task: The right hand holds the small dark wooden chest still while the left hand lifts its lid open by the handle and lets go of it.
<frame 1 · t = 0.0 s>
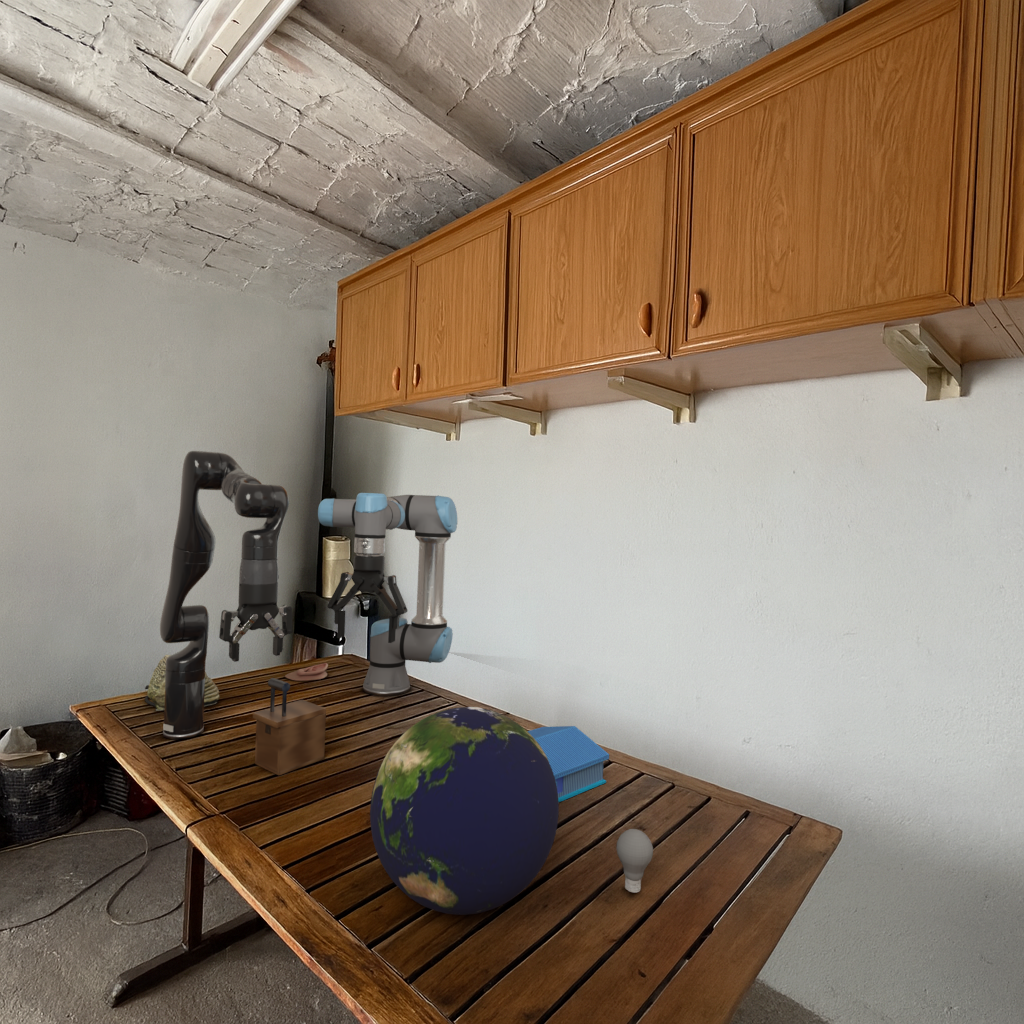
left hand: (256, 657, 132), 29 cm above the table, tool pointing down, fingers open, 8 cm apart
right hand: (366, 639, 158), 28 cm above the table, tool pointing down, fingers open, 13 cm apart
chest: (290, 761, 151), on the table
model building: (518, 792, 140), on the table
anatomical model: (306, 676, 220), on the table
fossil: (183, 706, 185), on the table
lid: (290, 696, 150), point 16 cm above the table, hinge at 0.0°
globe: (461, 898, 102), on the table
light bulb: (632, 891, 106), on the table
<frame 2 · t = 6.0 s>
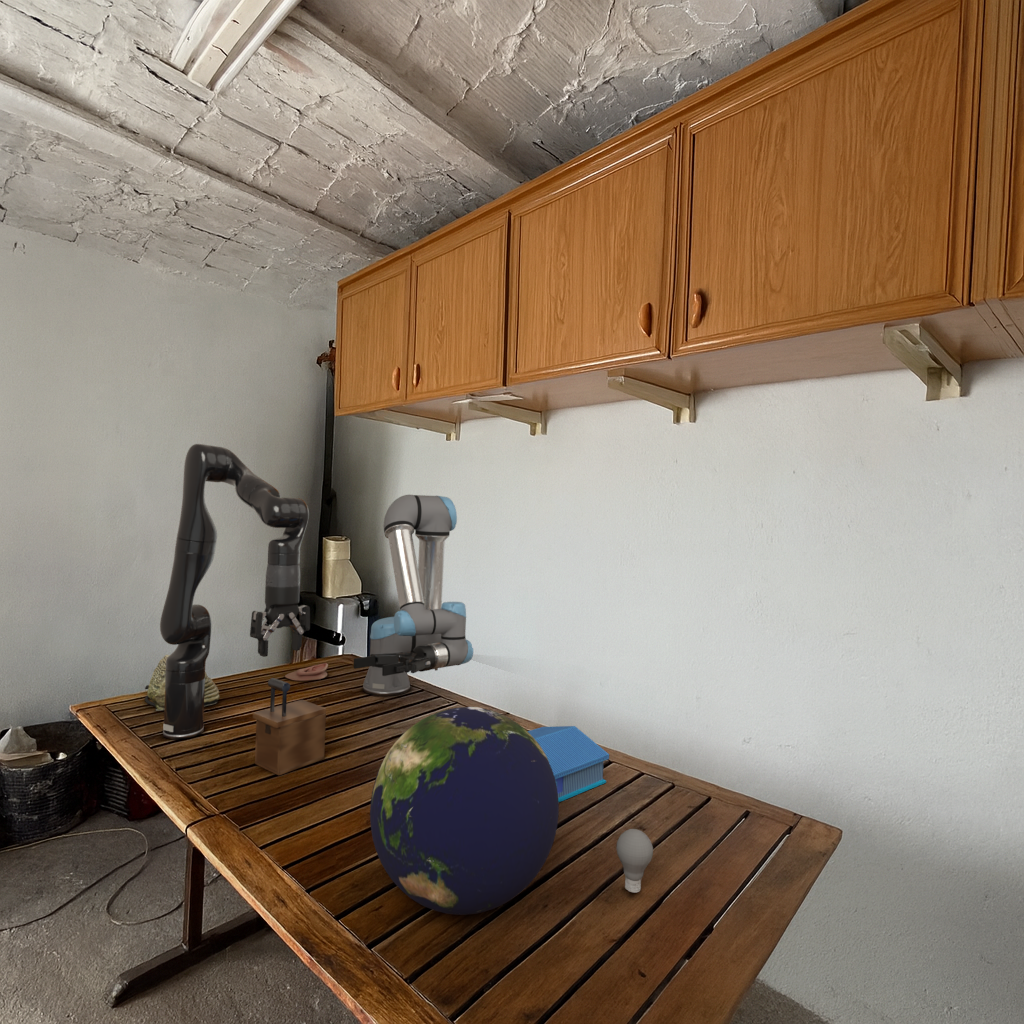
left hand: (280, 652, 147), 27 cm above the table, tool pointing down, fingers open, 8 cm apart
right hand: (368, 667, 173), 17 cm above the table, tool horizontal, fingers open, 13 cm apart
nothing on the table moved.
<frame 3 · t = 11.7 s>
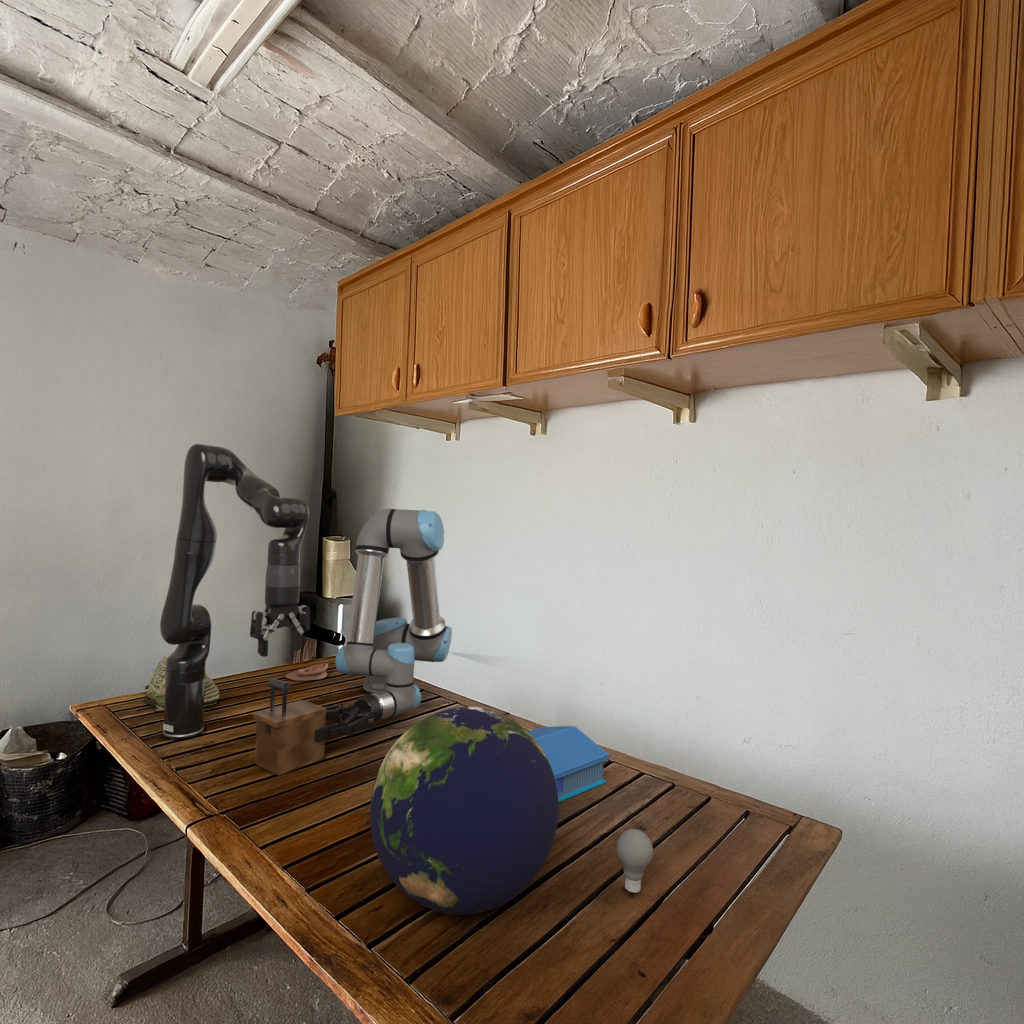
left hand: (280, 652, 147), 27 cm above the table, tool pointing down, fingers open, 8 cm apart
right hand: (302, 730, 153), 7 cm above the table, tool horizontal, fingers closed on chest, 9 cm apart
chest: (290, 761, 151), on the table, touching right hand
everything else where it was.
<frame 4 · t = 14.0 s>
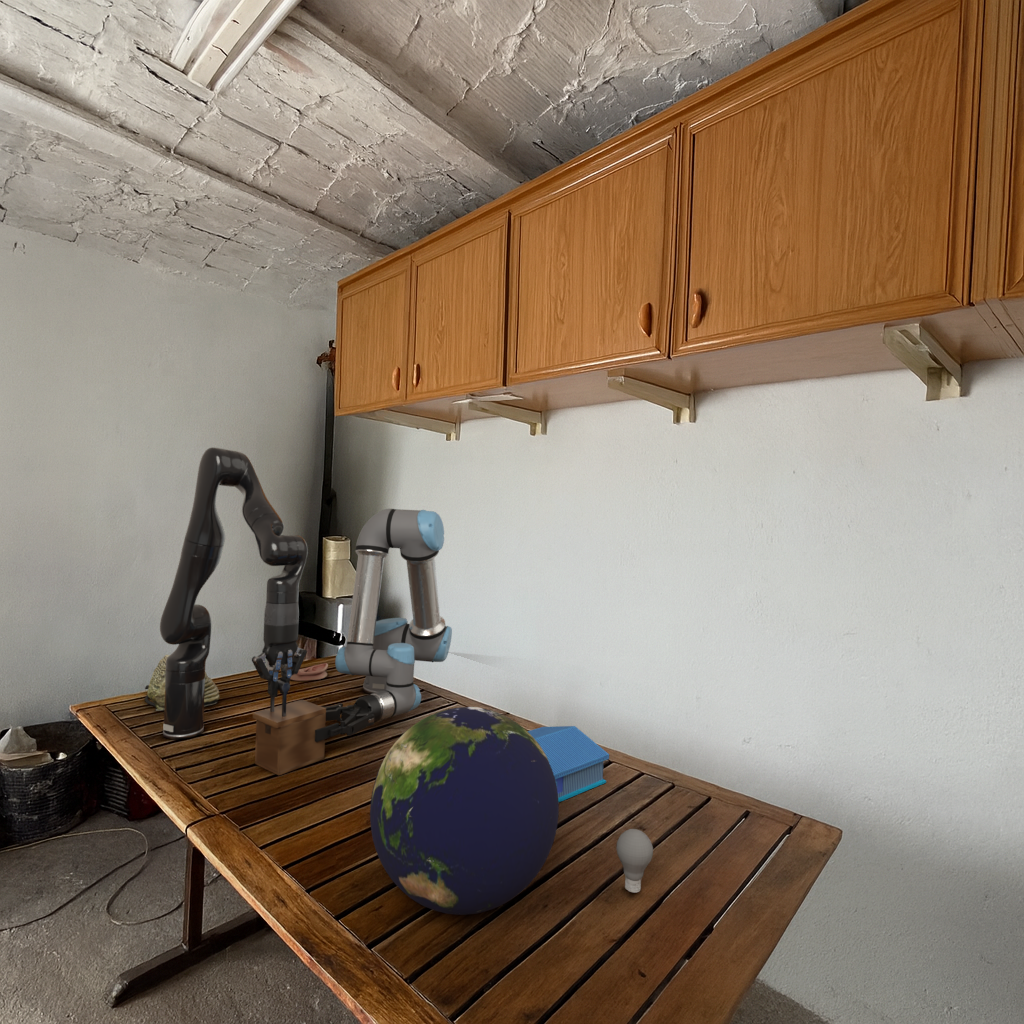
left hand: (278, 694, 147), 17 cm above the table, tool pointing down, fingers closed on lid, 2 cm apart
right hand: (302, 730, 153), 6 cm above the table, tool horizontal, fingers closed on chest, 9 cm apart
chest: (290, 761, 151), on the table, touching right hand
lid: (290, 696, 150), point 16 cm above the table, hinge at -0.1°, touching left hand
everything else where it was.
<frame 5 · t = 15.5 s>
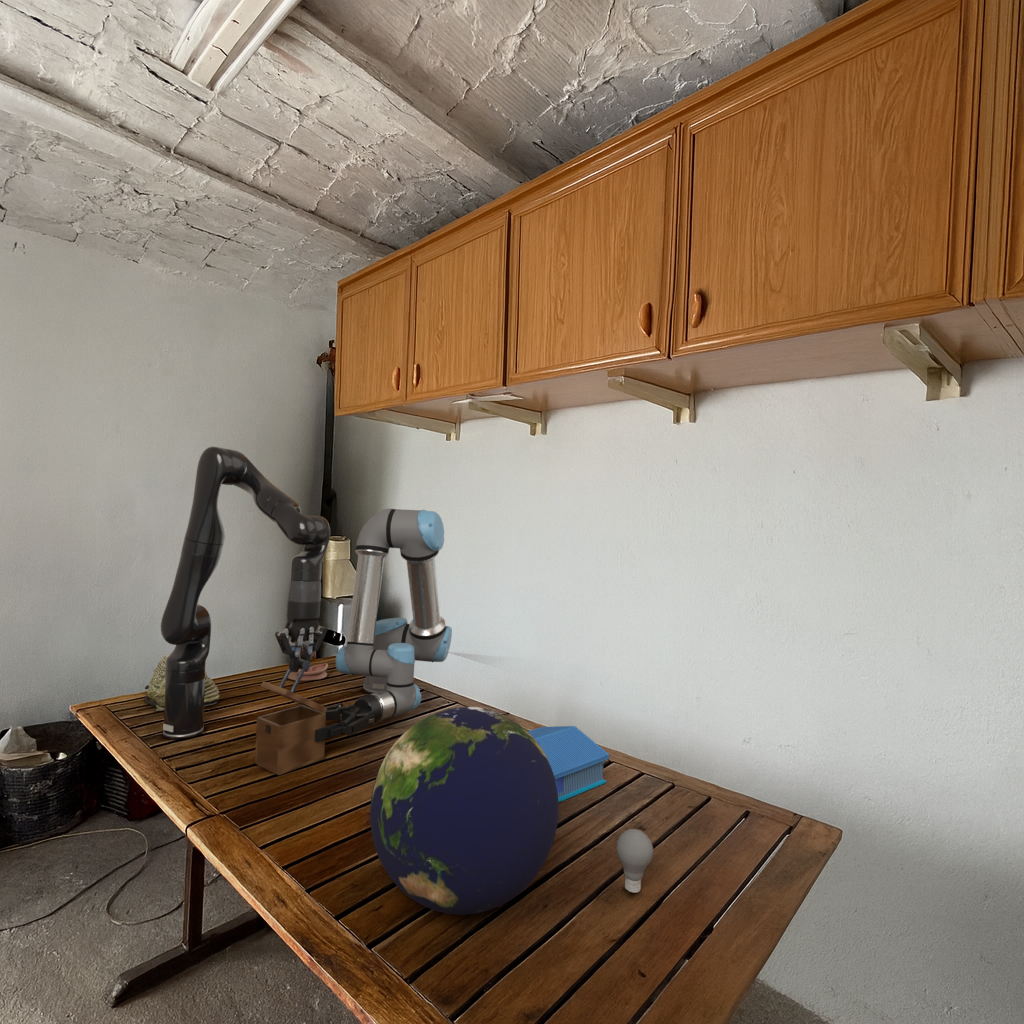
left hand: (299, 670, 152), 21 cm above the table, tool pointing down, fingers closed on lid, 2 cm apart
right hand: (302, 730, 153), 6 cm above the table, tool horizontal, fingers closed on chest, 9 cm apart
chest: (290, 761, 151), on the table, touching right hand
lid: (302, 681, 152), point 19 cm above the table, hinge at 31.4°, touching left hand
everything else where it was.
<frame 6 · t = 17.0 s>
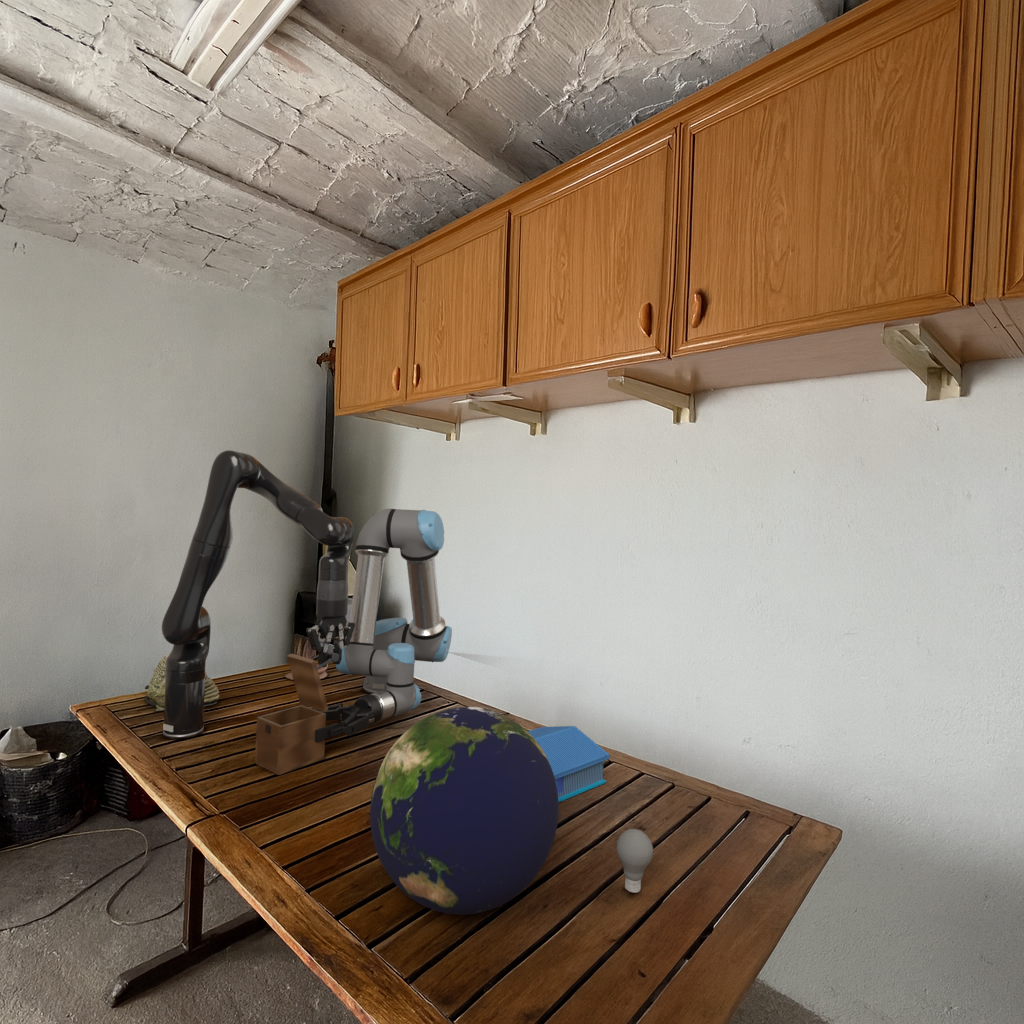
left hand: (329, 664, 159), 21 cm above the table, tool pointing down, fingers open, 3 cm apart
right hand: (302, 730, 153), 6 cm above the table, tool horizontal, fingers closed on chest, 9 cm apart
chest: (290, 761, 151), on the table, touching right hand
lid: (320, 674, 157), point 19 cm above the table, hinge at 70.8°
everything else where it was.
when the right hand's fingers open (6 cm above the table, at t = 21.1 s): chest stays where it is, on the table.
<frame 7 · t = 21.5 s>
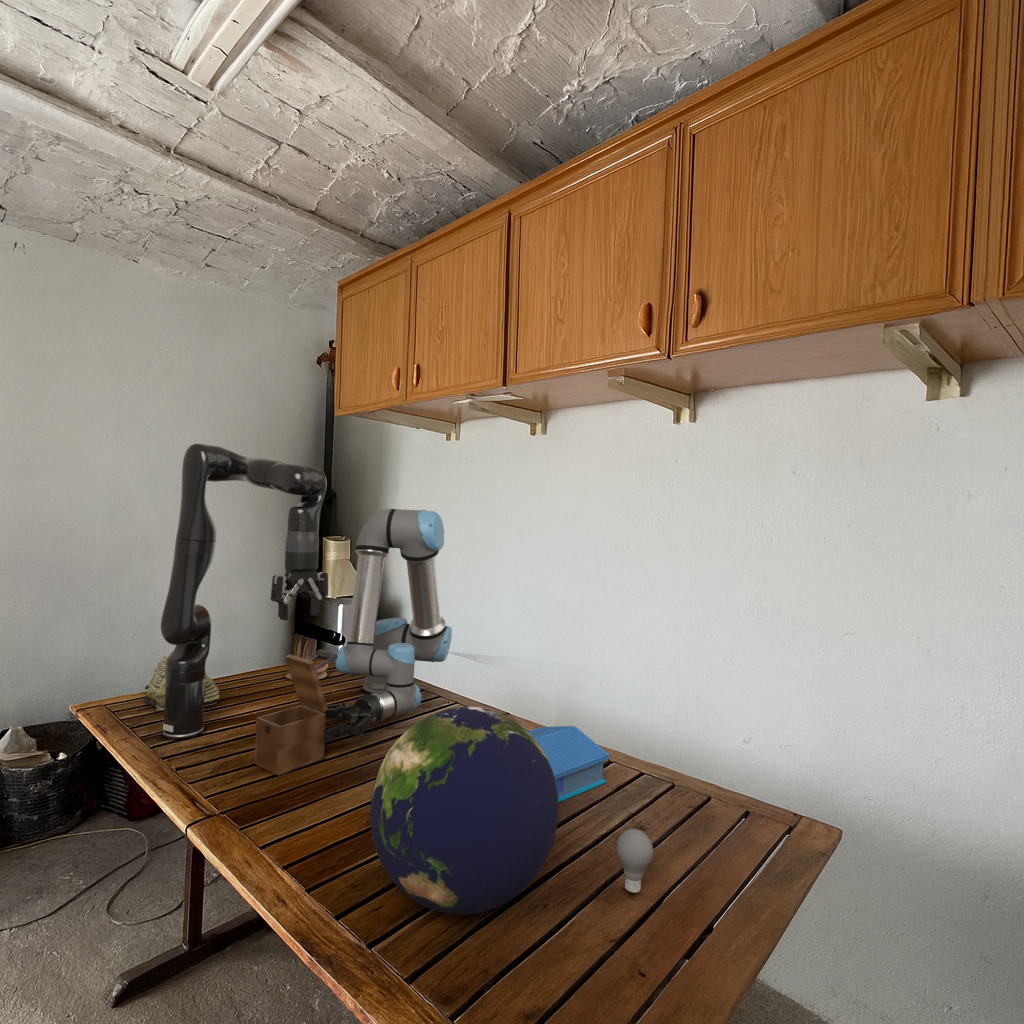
left hand: (299, 617, 151), 34 cm above the table, tool pointing down, fingers open, 8 cm apart
right hand: (306, 729, 154), 7 cm above the table, tool horizontal, fingers open, 13 cm apart
chest: (289, 761, 151), on the table
lid: (319, 674, 156), point 19 cm above the table, hinge at 69.6°
everything else where it was.
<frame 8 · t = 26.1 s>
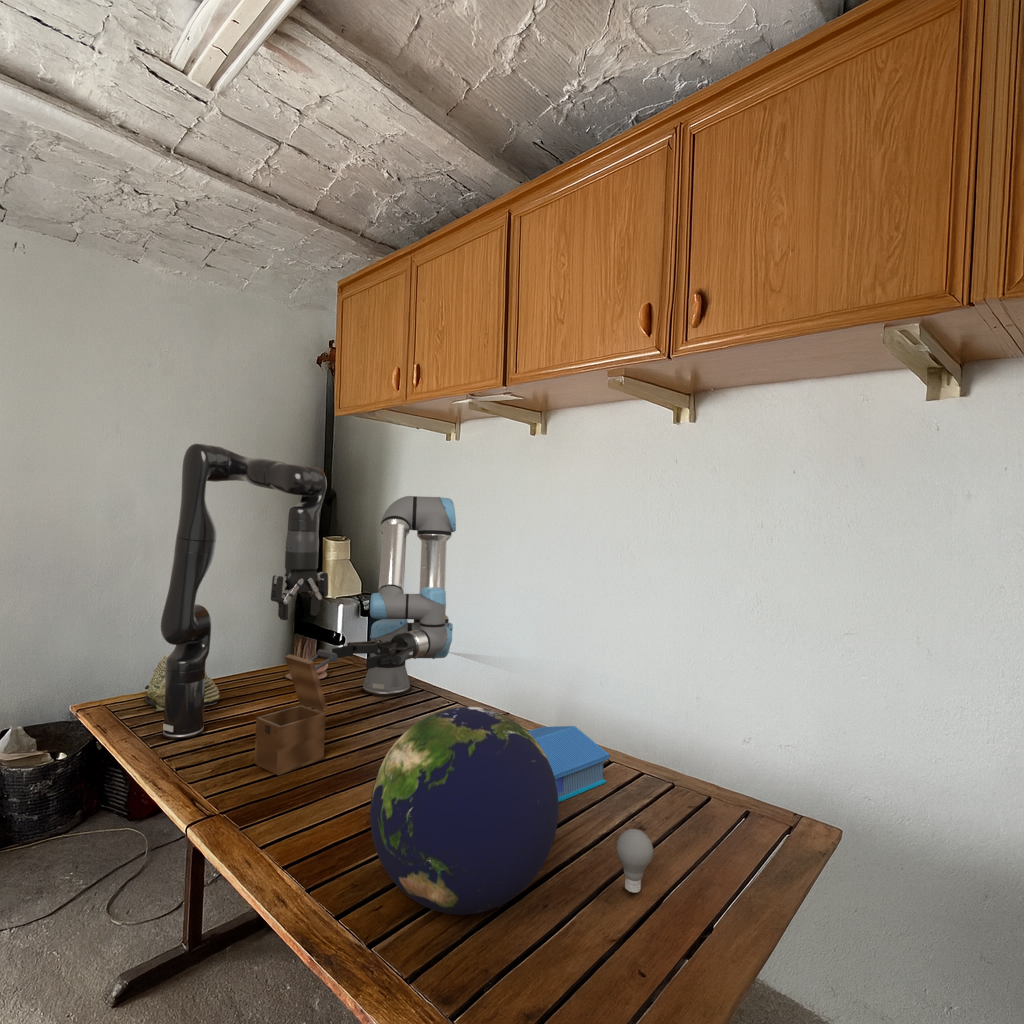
left hand: (299, 617, 151), 34 cm above the table, tool pointing down, fingers open, 8 cm apart
right hand: (349, 658, 164), 22 cm above the table, tool horizontal, fingers open, 13 cm apart
nothing on the table moved.
at the end: lid at +70° (first picture: +0°); the left hand is holding nothing; the right hand is holding nothing; chest tilted 0°; chest never tilted more than 1° during the clip; chest moved 0.1 cm from its start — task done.
